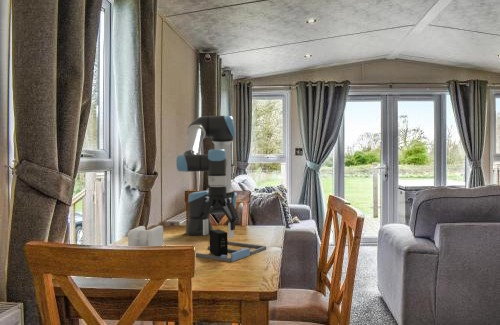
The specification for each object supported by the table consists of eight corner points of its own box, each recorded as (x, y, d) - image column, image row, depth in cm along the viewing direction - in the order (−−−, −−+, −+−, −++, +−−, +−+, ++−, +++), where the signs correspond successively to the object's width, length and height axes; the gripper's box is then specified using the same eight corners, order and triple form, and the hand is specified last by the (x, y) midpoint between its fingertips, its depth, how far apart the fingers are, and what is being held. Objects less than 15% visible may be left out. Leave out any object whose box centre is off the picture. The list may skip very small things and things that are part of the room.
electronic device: (218, 257, 158) (218, 233, 158) (209, 253, 167) (209, 229, 167) (227, 256, 160) (227, 232, 160) (218, 251, 169) (218, 228, 169)
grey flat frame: (226, 243, 186) (226, 237, 186) (267, 248, 173) (267, 242, 173) (187, 255, 163) (187, 248, 163) (230, 262, 150) (230, 254, 150)
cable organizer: (151, 259, 157) (151, 230, 157) (126, 259, 158) (126, 230, 159) (164, 251, 172) (163, 224, 172) (141, 250, 173) (140, 224, 173)
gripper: (189, 185, 167) (190, 234, 167) (236, 187, 153) (236, 241, 153) (200, 184, 173) (201, 231, 174) (246, 186, 159) (247, 237, 160)
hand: (218, 236), depth 163 cm, fingers open, 13 cm apart
